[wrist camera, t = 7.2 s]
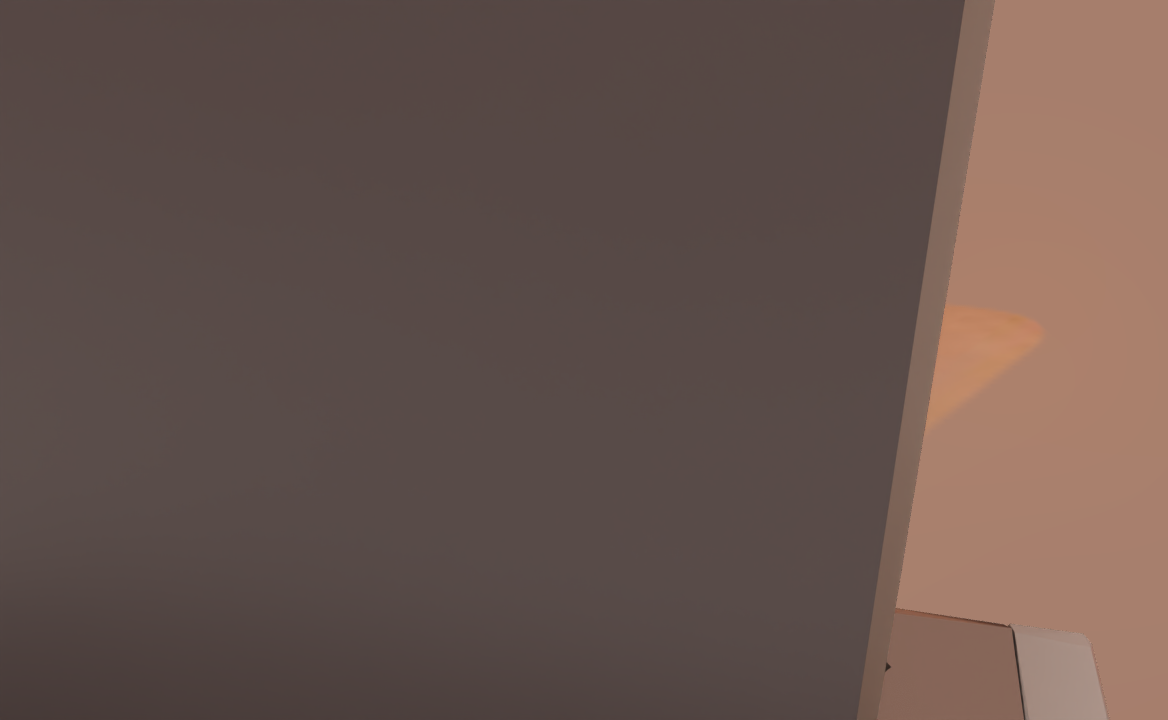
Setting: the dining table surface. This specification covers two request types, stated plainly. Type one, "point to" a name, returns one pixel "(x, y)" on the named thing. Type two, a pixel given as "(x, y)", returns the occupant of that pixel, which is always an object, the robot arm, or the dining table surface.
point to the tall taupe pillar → (468, 352)
